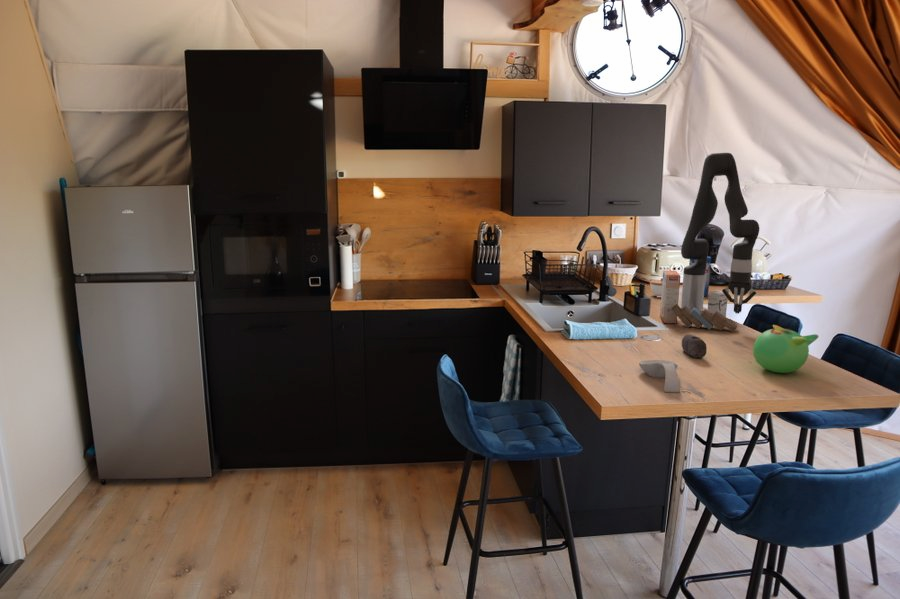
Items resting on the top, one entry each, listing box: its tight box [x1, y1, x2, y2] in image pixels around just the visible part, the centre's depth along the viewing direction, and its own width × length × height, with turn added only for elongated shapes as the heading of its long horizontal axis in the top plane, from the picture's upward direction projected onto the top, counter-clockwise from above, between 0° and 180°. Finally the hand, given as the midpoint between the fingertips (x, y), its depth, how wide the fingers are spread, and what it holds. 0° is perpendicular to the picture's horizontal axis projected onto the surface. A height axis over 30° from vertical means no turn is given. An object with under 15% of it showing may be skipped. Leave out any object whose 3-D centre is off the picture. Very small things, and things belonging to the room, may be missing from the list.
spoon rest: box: [638, 359, 681, 393], centre depth 201 cm, size 24×12×7 cm, turn 177°
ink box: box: [706, 289, 728, 318], centre depth 286 cm, size 9×5×12 cm, turn 131°
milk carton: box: [688, 256, 712, 297], centre depth 337 cm, size 10×6×20 cm, turn 73°
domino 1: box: [671, 304, 693, 328], centre depth 271 cm, size 5×2×10 cm
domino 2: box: [681, 305, 704, 329], centre depth 270 cm, size 5×2×10 cm
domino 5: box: [712, 311, 738, 333], centre depth 265 cm, size 5×2×10 cm
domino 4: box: [701, 308, 726, 332], centre depth 266 cm, size 5×2×10 cm
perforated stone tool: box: [681, 334, 708, 359], centre depth 230 cm, size 15×5×7 cm, turn 1°
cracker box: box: [659, 269, 681, 325], centre depth 280 cm, size 14×6×21 cm, turn 168°
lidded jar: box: [650, 277, 663, 297], centre depth 335 cm, size 11×11×9 cm
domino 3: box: [690, 307, 714, 331], centre depth 268 cm, size 5×2×10 cm
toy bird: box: [752, 324, 819, 374], centre depth 210 cm, size 18×17×15 cm
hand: (737, 313), depth 262 cm, fingers closed
